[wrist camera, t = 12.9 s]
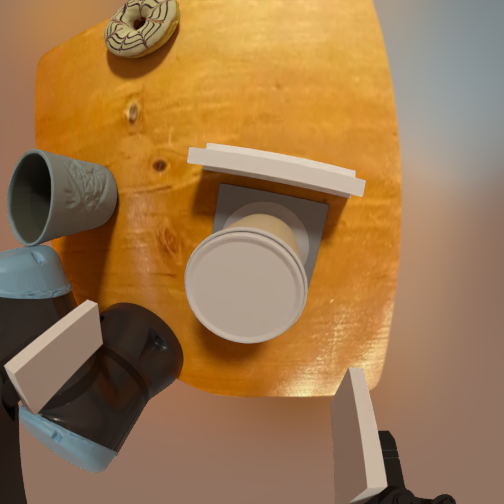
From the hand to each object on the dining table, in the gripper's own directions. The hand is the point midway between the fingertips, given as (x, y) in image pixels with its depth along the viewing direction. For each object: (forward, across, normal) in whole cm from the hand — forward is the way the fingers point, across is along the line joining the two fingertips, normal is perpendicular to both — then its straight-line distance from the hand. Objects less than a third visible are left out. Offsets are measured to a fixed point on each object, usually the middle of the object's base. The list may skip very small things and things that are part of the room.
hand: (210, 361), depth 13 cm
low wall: (+20, 0, -9) cm, 22 cm away
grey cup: (+20, +23, -2) cm, 30 cm away
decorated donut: (+21, +20, -26) cm, 39 cm away
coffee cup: (+20, 0, 0) cm, 20 cm away
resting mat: (+20, 0, 0) cm, 20 cm away
